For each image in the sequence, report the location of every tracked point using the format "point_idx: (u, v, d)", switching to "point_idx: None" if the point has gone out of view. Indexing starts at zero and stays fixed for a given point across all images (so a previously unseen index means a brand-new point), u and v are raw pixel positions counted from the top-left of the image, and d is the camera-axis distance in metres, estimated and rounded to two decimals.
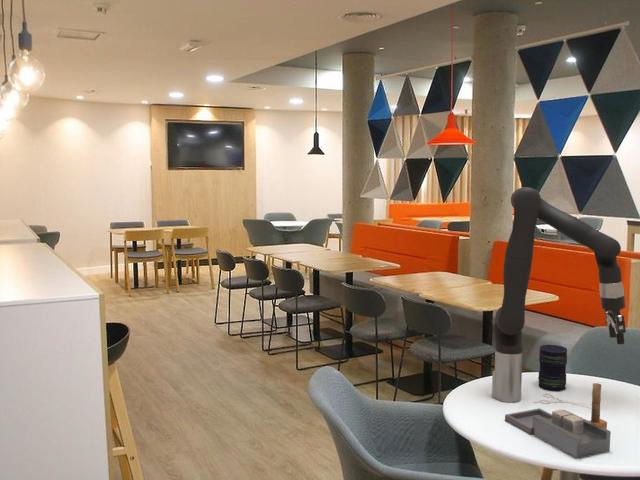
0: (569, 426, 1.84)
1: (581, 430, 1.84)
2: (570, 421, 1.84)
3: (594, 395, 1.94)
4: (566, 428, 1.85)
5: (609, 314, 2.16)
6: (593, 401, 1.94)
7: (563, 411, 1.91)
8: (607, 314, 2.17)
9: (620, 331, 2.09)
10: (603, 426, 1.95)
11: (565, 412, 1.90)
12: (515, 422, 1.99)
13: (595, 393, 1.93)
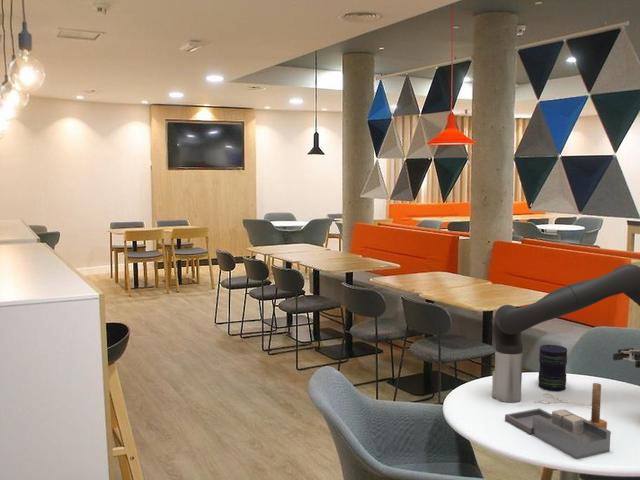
0: (569, 426, 1.84)
1: (581, 430, 1.84)
2: (570, 421, 1.84)
3: (594, 395, 1.94)
4: (566, 428, 1.85)
5: None
6: (593, 401, 1.94)
7: (563, 411, 1.91)
8: None
9: None
10: (603, 426, 1.95)
11: (565, 412, 1.90)
12: (515, 422, 1.99)
13: (595, 393, 1.93)
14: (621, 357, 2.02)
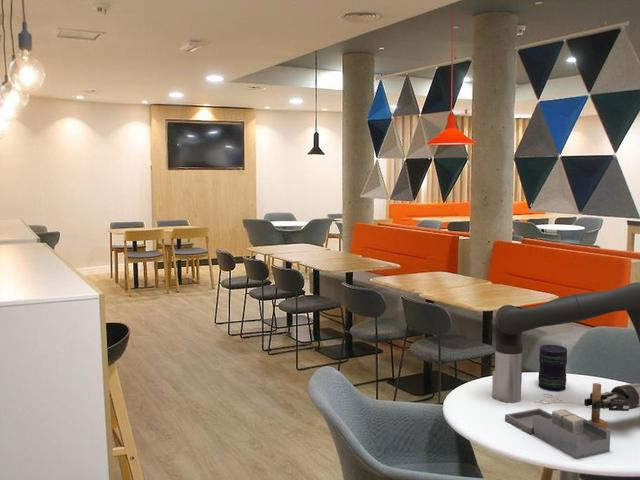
0: (569, 426, 1.84)
1: (581, 430, 1.84)
2: (570, 421, 1.84)
3: (594, 395, 1.94)
4: (566, 428, 1.85)
5: (612, 394, 1.98)
6: (593, 401, 1.94)
7: (563, 411, 1.91)
8: (612, 392, 1.98)
9: (612, 405, 1.91)
10: (603, 426, 1.95)
11: (565, 412, 1.90)
12: (515, 422, 1.99)
13: (595, 393, 1.93)
14: None
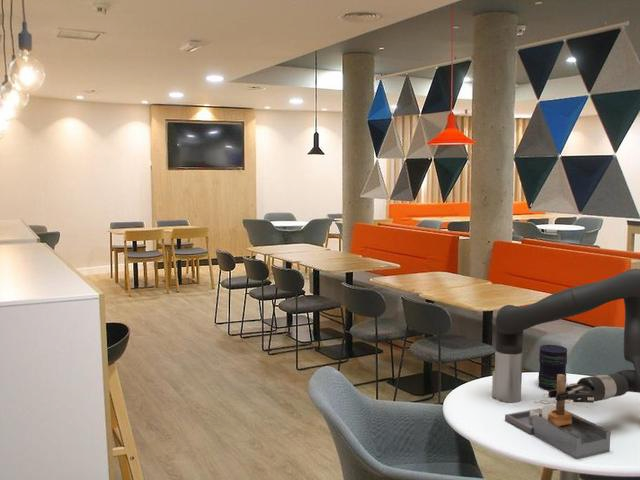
0: None
1: None
2: (549, 411, 1.92)
3: (558, 386, 1.89)
4: (545, 417, 1.93)
5: (577, 386, 1.93)
6: (557, 392, 1.89)
7: None
8: (577, 384, 1.93)
9: (576, 396, 1.86)
10: (568, 418, 1.90)
11: None
12: (515, 422, 1.99)
13: (560, 384, 1.88)
14: None
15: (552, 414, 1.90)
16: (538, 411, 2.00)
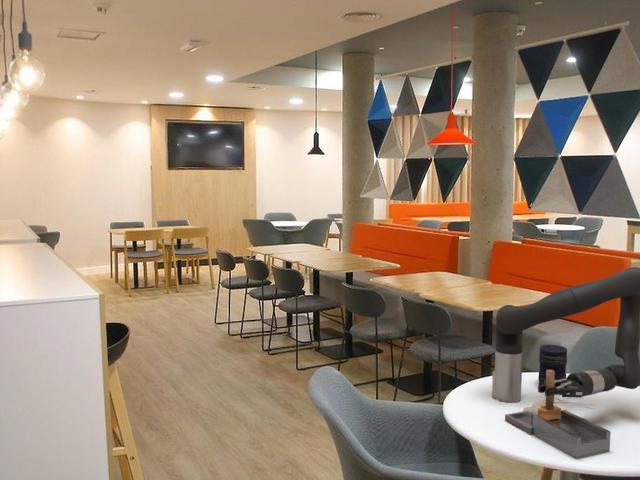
0: None
1: None
2: (538, 406, 1.96)
3: (548, 382, 1.93)
4: (535, 413, 1.98)
5: (566, 381, 1.98)
6: None
7: None
8: (566, 379, 1.98)
9: (565, 391, 1.91)
10: (557, 413, 1.94)
11: None
12: (515, 422, 1.99)
13: (549, 379, 1.93)
14: None
15: (541, 409, 1.94)
16: (531, 408, 2.02)
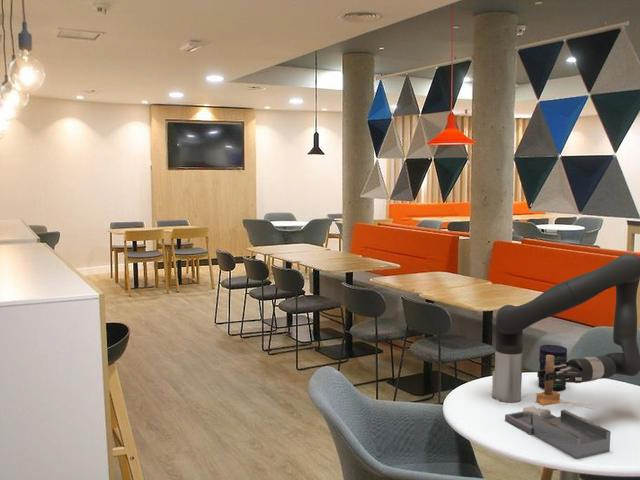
0: None
1: None
2: (538, 412, 1.97)
3: (547, 367, 1.93)
4: None
5: (566, 367, 1.97)
6: None
7: None
8: (566, 365, 1.97)
9: (564, 377, 1.90)
10: (556, 398, 1.94)
11: None
12: (515, 422, 1.99)
13: (548, 364, 1.92)
14: None
15: (540, 394, 1.94)
16: (531, 408, 2.02)
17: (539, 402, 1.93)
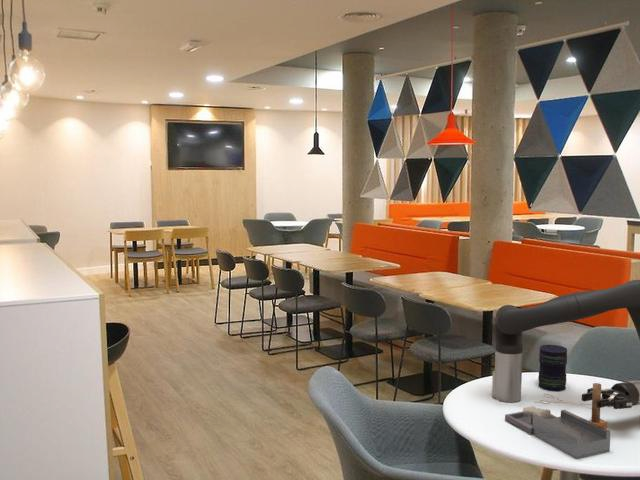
0: None
1: None
2: (538, 412, 1.97)
3: (594, 395, 1.94)
4: None
5: (612, 391, 1.98)
6: (593, 401, 1.94)
7: None
8: (612, 389, 1.98)
9: (617, 403, 1.90)
10: (603, 426, 1.95)
11: None
12: (515, 422, 1.99)
13: (595, 392, 1.93)
14: (590, 398, 1.97)
15: None
16: (531, 408, 2.02)
17: None
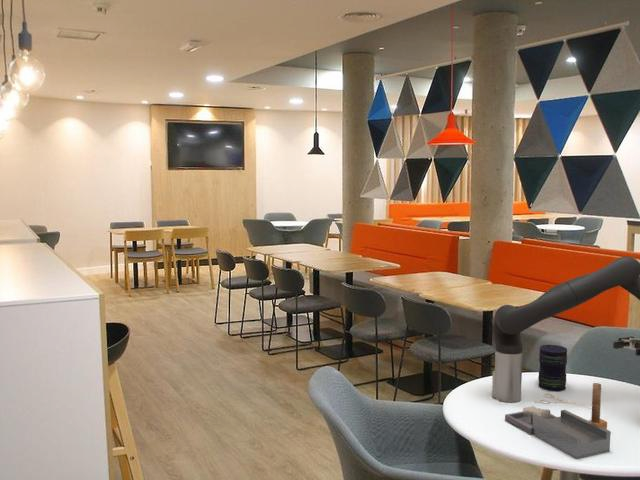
0: None
1: None
2: (538, 412, 1.97)
3: (594, 395, 1.94)
4: None
5: None
6: (593, 401, 1.94)
7: None
8: None
9: None
10: (603, 426, 1.95)
11: None
12: (515, 422, 1.99)
13: (595, 392, 1.93)
14: (621, 345, 2.02)
15: None
16: (531, 408, 2.02)
17: None
